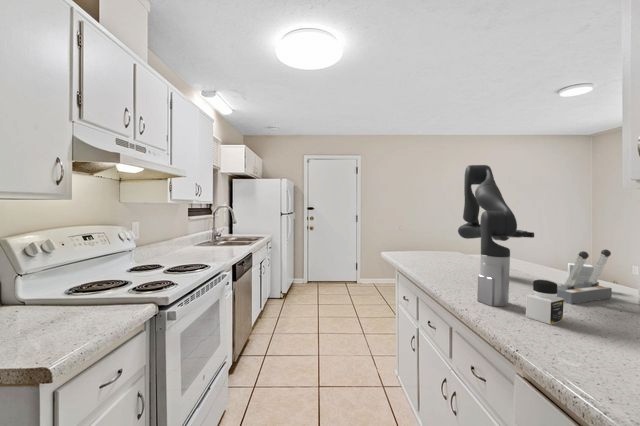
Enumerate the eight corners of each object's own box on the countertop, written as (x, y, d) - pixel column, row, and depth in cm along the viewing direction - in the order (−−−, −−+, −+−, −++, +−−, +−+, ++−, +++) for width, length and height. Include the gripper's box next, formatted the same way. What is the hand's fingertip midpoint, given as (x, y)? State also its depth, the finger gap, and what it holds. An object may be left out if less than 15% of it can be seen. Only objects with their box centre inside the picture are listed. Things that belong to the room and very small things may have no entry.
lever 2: (592, 287, 118) (609, 251, 113) (584, 284, 121) (600, 248, 116) (597, 287, 119) (614, 251, 114) (589, 283, 122) (605, 248, 117)
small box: (590, 288, 132) (591, 264, 131) (593, 291, 127) (594, 266, 127) (566, 285, 136) (567, 262, 136) (568, 288, 131) (569, 264, 131)
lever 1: (568, 290, 114) (586, 253, 108) (561, 286, 116) (578, 250, 111) (573, 290, 115) (592, 253, 109) (566, 285, 117) (583, 249, 112)
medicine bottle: (550, 325, 90) (552, 284, 89) (525, 317, 96) (526, 279, 96) (563, 321, 93) (564, 282, 93) (537, 313, 99) (539, 277, 99)
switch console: (571, 304, 110) (571, 288, 110) (547, 297, 117) (548, 282, 117) (611, 298, 118) (611, 283, 118) (587, 292, 125) (587, 278, 125)
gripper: (486, 224, 142) (522, 226, 125) (506, 224, 146) (544, 226, 130) (485, 240, 142) (521, 244, 125) (506, 239, 146) (543, 243, 130)
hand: (533, 235), depth 128 cm, fingers closed
